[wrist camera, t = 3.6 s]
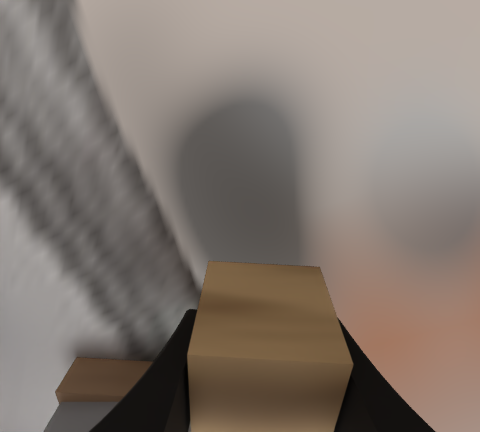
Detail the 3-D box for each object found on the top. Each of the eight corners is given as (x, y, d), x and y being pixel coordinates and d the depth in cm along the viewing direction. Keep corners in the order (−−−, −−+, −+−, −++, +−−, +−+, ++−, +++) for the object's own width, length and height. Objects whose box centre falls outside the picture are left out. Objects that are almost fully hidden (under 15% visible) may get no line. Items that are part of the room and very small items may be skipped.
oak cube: (304, 346, 14) (326, 457, 10) (209, 340, 14) (192, 448, 10) (319, 266, 12) (353, 364, 8) (208, 261, 12) (187, 354, 8)
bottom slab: (231, 443, 19) (228, 493, 17) (106, 436, 19) (87, 484, 17) (235, 355, 16) (232, 402, 13) (83, 346, 16) (55, 392, 14)
